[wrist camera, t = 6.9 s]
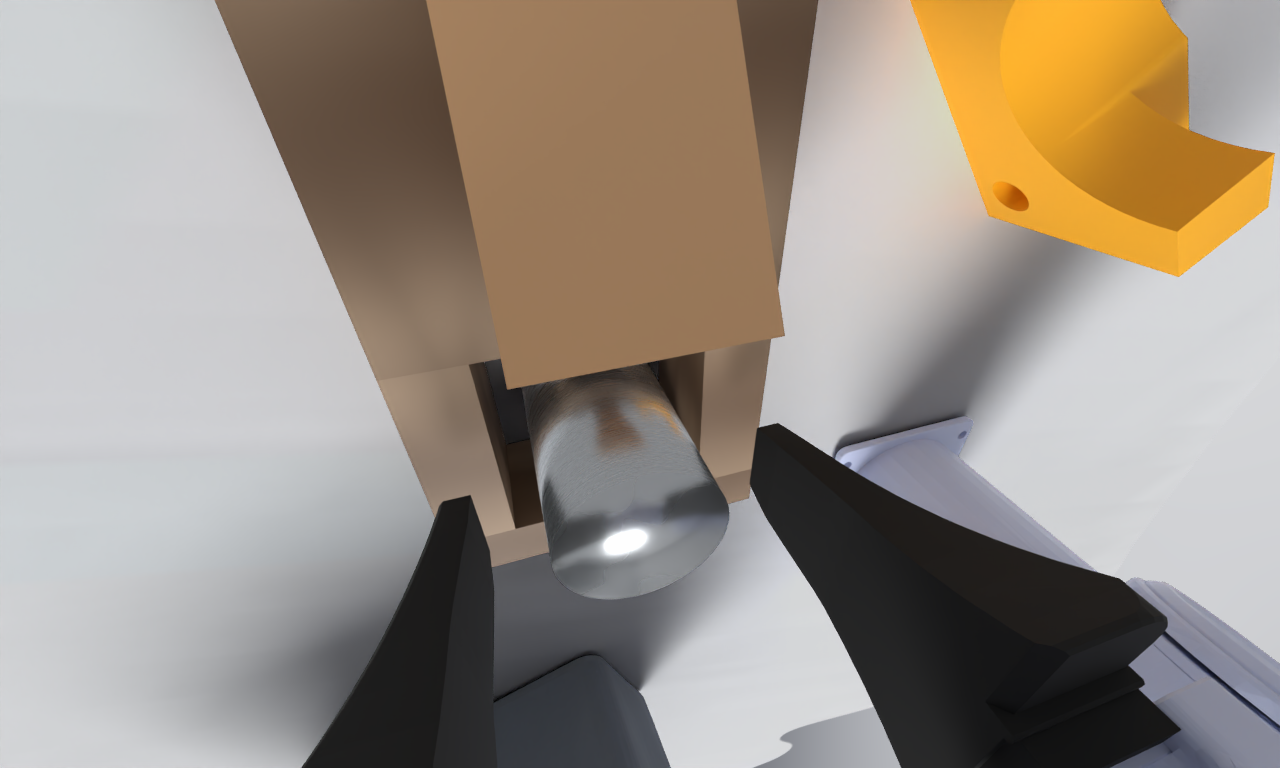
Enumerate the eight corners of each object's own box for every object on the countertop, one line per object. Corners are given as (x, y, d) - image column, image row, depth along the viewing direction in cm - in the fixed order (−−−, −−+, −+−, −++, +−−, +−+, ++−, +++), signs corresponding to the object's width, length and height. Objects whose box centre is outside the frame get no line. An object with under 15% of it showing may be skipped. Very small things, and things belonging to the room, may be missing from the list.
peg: (631, 393, 18) (718, 574, 12) (524, 411, 17) (558, 617, 11) (632, 295, 16) (740, 455, 10) (509, 309, 15) (540, 496, 9)
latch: (386, -214, 7) (349, -363, 5) (666, -196, 7) (699, -318, 6) (510, 383, 7) (506, 391, 6) (748, 338, 8) (792, 335, 7)
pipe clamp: (1085, 124, 18) (1333, 156, 13) (985, 214, 19) (1178, 277, 14) (1015, -294, 11) (1493, -589, 6) (862, -118, 12) (1159, -240, 7)
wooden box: (705, 429, 21) (771, 533, 16) (460, 485, 18) (459, 623, 14) (737, -156, 11) (928, -296, 6) (220, -182, 9) (-33, -422, 4)
